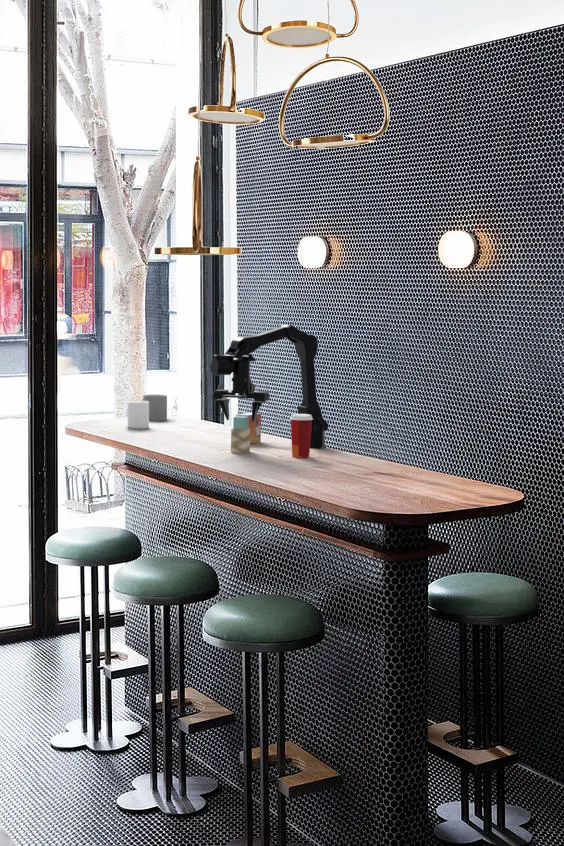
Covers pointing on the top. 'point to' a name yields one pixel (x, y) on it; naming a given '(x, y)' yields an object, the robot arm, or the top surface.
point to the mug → (138, 414)
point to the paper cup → (301, 434)
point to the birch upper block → (240, 435)
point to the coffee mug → (156, 407)
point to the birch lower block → (240, 447)
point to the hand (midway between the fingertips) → (240, 420)
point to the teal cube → (241, 422)
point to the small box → (254, 427)
